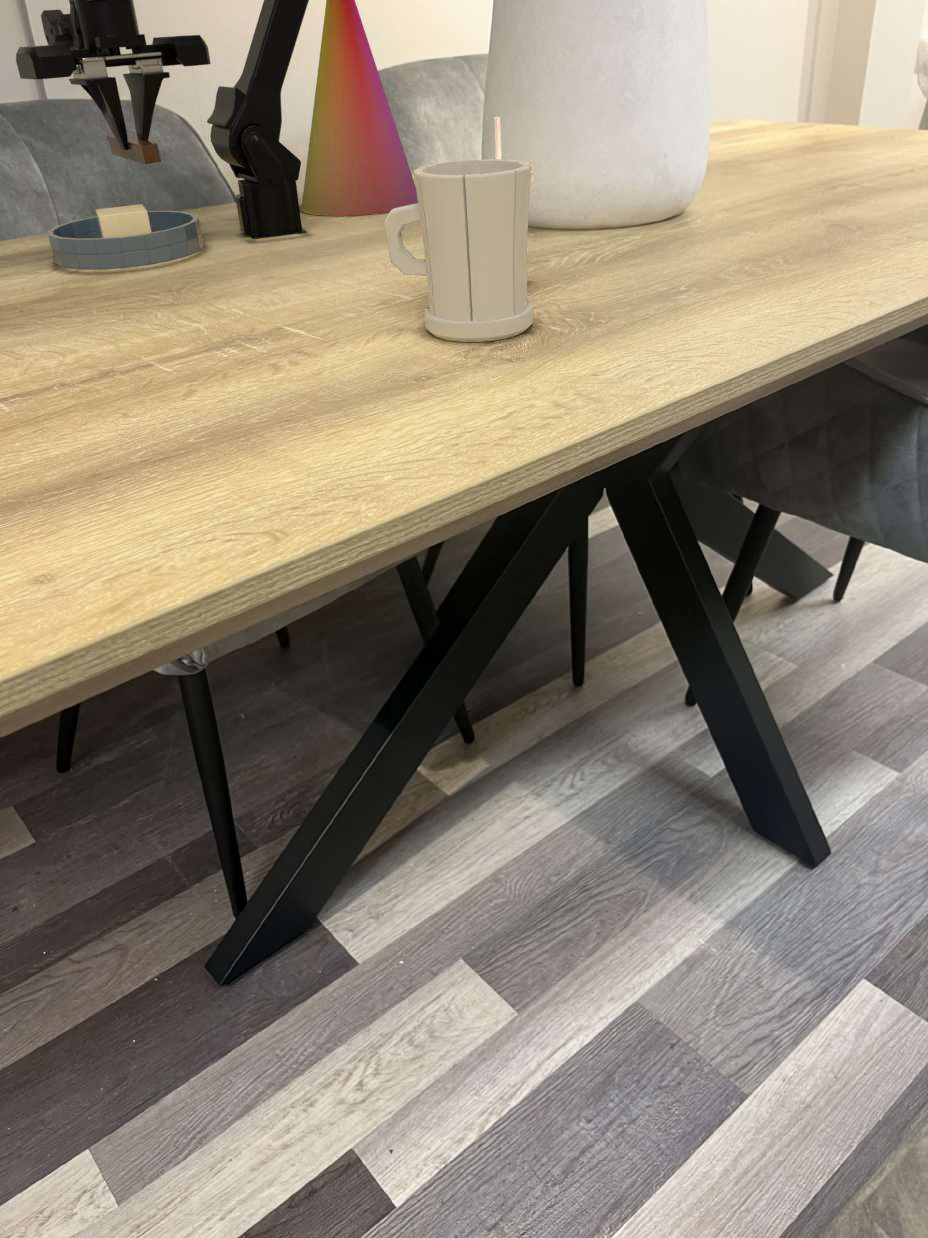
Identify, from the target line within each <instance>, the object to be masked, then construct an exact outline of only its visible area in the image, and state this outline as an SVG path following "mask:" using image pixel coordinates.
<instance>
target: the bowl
mask: <svg viewBox="0 0 928 1238" xmlns="http://www.w3.org/2000/svg"><path fill="white" fill-rule="evenodd" d="M147 213H148V218H149V222H150V227H151V233H146V234H139V235H131V236H122V237H110V238H102V236H101V232H100V227H99V223H98V219H97V216H91V217H86V218H82V219H76V220H72V221H69V222H65V223H62V224H59V225H56V226H54V227H52V228H50V229H49V230H48V231H47V236H48V239H49V244H50V248H51V252H52V255H53V259H54V260H53V261H54V263H55V264H56V265H57V266H59V267H62V268H65V269H73V270H87V271H89V270H91V271H92V270H93V271H94V270H95V271H96V270H116V269H117V270H118V269H128V268H137V267H143V266H151V265H156V264H160V263H162V264H163V263H167V262H171V261H174V260H179V259H182V258H185V257H188V256H191V255H194V254H196V253H197V252H199V251H201V250H202V249H203V247H204V244H205V243H204V239H203V233H202V229H201V228H202V227H201V221H200V218H199V217H198V215H197V214H196V213H193V212H187V211H181V210H180V211H179V210H147Z"/></svg>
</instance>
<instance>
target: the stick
mask: <svg viewBox="0 0 928 1238" xmlns="http://www.w3.org/2000/svg"><path fill="white" fill-rule="evenodd" d="M127 137H128V150H122V149H121V147H120V145H119V144H118V142H117V140H116V138H115V136H114V135H109V136H108V137H107V138H108V143H109V148H110V152H111V154H112V155H113V156H117V157H120V158H124V159H127V160H130V161H133V162H137V163H140V164H143V165H150V164H155V163H160V162H162V160H161V155H160V150H159V144H158V143H157V142H153V141H150V140H148V141H146V140H142V139H139V138H138V137H136V136H131V135H127Z"/></svg>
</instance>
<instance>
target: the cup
mask: <svg viewBox="0 0 928 1238" xmlns="http://www.w3.org/2000/svg"><path fill="white" fill-rule="evenodd" d="M531 170H532V164H531V162H528V161H524V160H519V159H518V160H517V159H503V158H502V159H496V158H488V159H487V158H484V159H483V158H482V159H464V160H454V161H453V160H452V161H444V162H439V163H438V162H437V163H432V164H427V165H423V166H420V167H418V168H415V169H414V170H413V180H414V184H415V187H416V192H417V199H418V203H416V204H411V205H407V206H402V207H398V208H394V209H392V210H391V211H390V212H388V215H387V216H386V217H385V219H384V221H383V223H384V228H385V229H384V230H385V235H386V242H387V248H388V254H389V261H390V263H391V264H392V265H393V266H394V267H396V269H397V270H399V272H400V273H402V275H403V276H404V275H405V276H426V282H427V292H428V294H427V295H428V306H427V307H426V308H425V309H424V326H425V330H427V331H428V332H429V333H430V334H432V335H433V336H434V337H436V338H439V339H441V340H444V341H445V340H446V341H451V342H457V343H458V342H461V343H481V342H484V343H485V342H492V341H500V340H506V339H508V338H509V339H510V338H513V337H516V336H518V335H520V334H522V333H524V332H526V331H527V330H528V329H529V328H530V326H532V324H533V323H534V307H533V303H532V302H529V300H528V242H529V241H528V238H529V215H530V214H529V213H530V195H531V185H530V181H531ZM418 222H420V227H421V236H422V242H423V251H424V258H417V257H416V256H414V255H413V253H412V252H411V251H409V249H407V248H406V246H405V245H404V241H403V235H402V231H403V229H404V227H406V226H407V225H409V224H413V223H418Z"/></svg>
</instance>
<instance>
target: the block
mask: <svg viewBox="0 0 928 1238" xmlns="http://www.w3.org/2000/svg"><path fill="white" fill-rule="evenodd" d="M147 211H148V210H147V209H146V207H145V206H144V205H143V204H142V203H141V204H131V205H123V206H122V205H121V206H114V207H103V208H96V209H95V214H96V217H97V219H98V223H99V227H100V232H101V236H102V238H110V237H122V236H131V235H139V234H146V233H151V227H150V222H149V218H148V213H147Z"/></svg>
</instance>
